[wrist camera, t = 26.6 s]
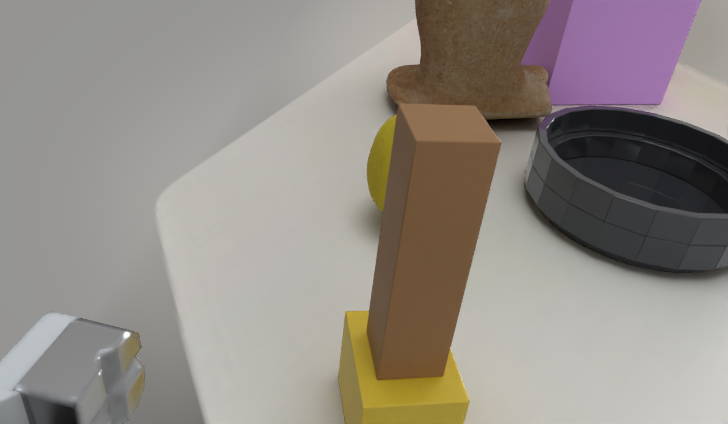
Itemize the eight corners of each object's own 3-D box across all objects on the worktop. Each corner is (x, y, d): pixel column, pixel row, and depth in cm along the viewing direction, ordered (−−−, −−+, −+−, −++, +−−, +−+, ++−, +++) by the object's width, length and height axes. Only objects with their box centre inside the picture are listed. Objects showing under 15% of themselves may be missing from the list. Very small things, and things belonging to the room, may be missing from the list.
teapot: (720, 104, 63) (785, -41, 55) (496, 104, 57) (534, -58, 49) (633, 52, 75) (677, -73, 67) (441, 48, 69) (465, -90, 61)
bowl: (481, 170, 46) (494, 115, 43) (631, 148, 52) (651, 98, 49) (629, 302, 35) (659, 238, 32) (800, 254, 41) (835, 197, 38)
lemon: (364, 195, 41) (378, 82, 37) (446, 206, 41) (470, 94, 37) (356, 243, 37) (371, 121, 32) (449, 255, 37) (476, 134, 32)
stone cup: (401, 141, 49) (432, -63, 40) (376, 83, 58) (397, -92, 50) (578, 145, 51) (641, -46, 43) (526, 88, 61) (569, -76, 53)
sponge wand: (338, 375, 28) (370, 87, 20) (422, 371, 29) (484, 91, 21) (352, 475, 24) (400, 160, 16) (451, 467, 25) (540, 162, 17)
